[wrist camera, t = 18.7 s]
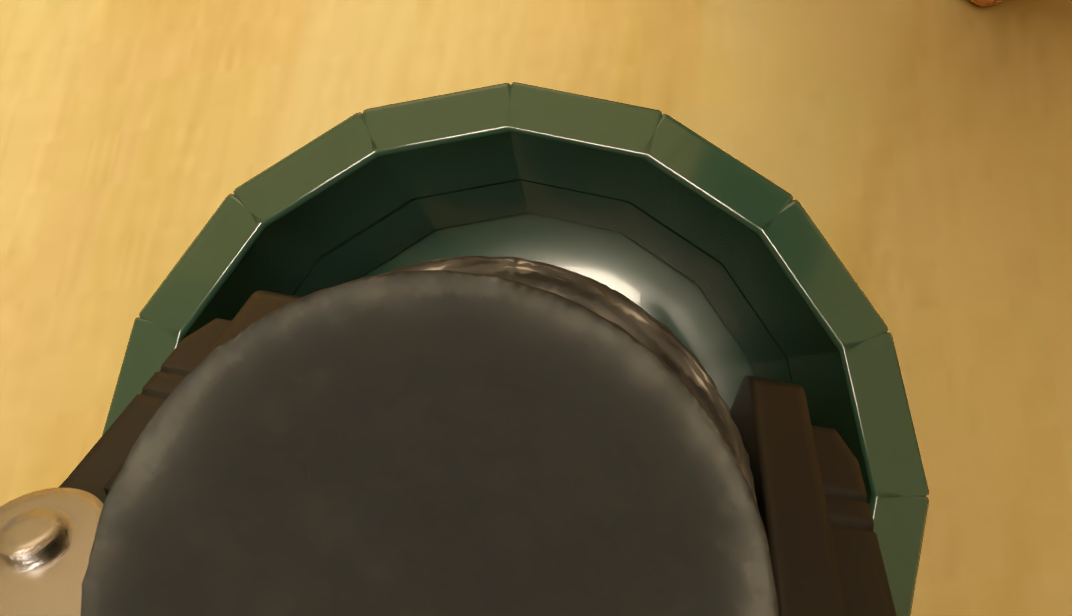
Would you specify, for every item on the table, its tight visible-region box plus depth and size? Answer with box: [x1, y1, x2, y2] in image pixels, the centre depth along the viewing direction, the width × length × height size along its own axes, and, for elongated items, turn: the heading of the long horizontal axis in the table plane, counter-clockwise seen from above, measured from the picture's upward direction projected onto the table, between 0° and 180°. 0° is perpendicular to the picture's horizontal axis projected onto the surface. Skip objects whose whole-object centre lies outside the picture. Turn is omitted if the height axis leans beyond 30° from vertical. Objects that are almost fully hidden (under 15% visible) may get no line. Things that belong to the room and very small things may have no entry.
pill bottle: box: [81, 256, 779, 616], centre depth 10 cm, size 6×6×11 cm
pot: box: [102, 82, 929, 616], centre depth 13 cm, size 12×12×6 cm
